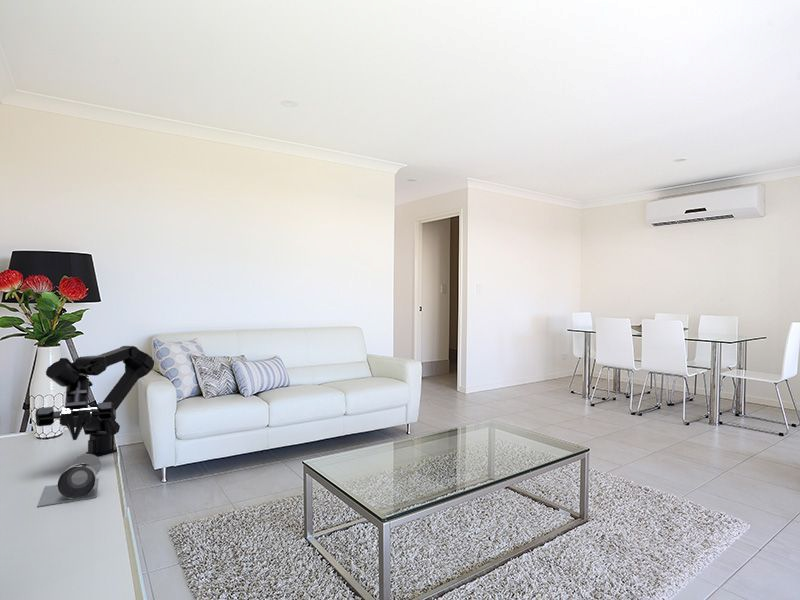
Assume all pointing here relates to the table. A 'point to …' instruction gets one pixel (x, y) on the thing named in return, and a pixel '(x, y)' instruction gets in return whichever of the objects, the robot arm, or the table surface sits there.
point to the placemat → (54, 496)
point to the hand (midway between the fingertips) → (74, 439)
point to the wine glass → (79, 477)
